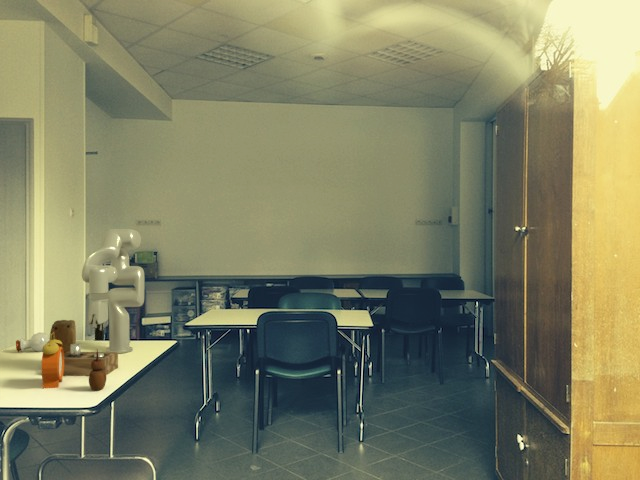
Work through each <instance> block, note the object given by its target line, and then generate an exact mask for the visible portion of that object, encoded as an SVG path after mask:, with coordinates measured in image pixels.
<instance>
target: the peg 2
mask: <svg viewBox="0 0 640 480" xmlns="http://www.w3.org/2000/svg"><path fill="white" fill-rule="evenodd" d="M96 355H97V354H94V357H96ZM103 356H104V353H98V357H103Z"/></svg>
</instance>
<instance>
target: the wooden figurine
mask: <svg viewBox="0 0 640 480" xmlns="http://www.w3.org/2000/svg"><path fill="white" fill-rule="evenodd" d="M96 352H97V355H96V360H93V361H92V362H91V368H92V371H91V372H90V374H89V376H88V384H89V387H90V389H91V390H92V391H101V390H103V389H104V388H105V386H106V383H107V375H106V372H105V370H104V369H103V367H104V361H103V360H101V359H99V357H98V352H99V350H98V349H96Z"/></svg>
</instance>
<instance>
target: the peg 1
mask: <svg viewBox="0 0 640 480" xmlns="http://www.w3.org/2000/svg"><path fill="white" fill-rule="evenodd" d="M81 345H82V344H81V342H76V343H72V344H70V357H79V356H81V352H82V350H81V349H82V346H81Z"/></svg>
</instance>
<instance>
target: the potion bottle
mask: <svg viewBox="0 0 640 480" xmlns="http://www.w3.org/2000/svg"><path fill="white" fill-rule="evenodd" d="M48 341H50V335H48V334H46V332H45V333H44V332H37V333H34V334H32V336H31V338H30V339H24V338H23V337H22V338H21V339H20V340H19V339H17V340H15V350H16V351H17V352H18V353H20V351H21V352H22V353H24V352H25V351H26V350H28V349H32V350H33V351H34V352H37V353H41V352H42V353H43V351H42V349H43V346H44V345H45V344H47V342H48Z"/></svg>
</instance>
